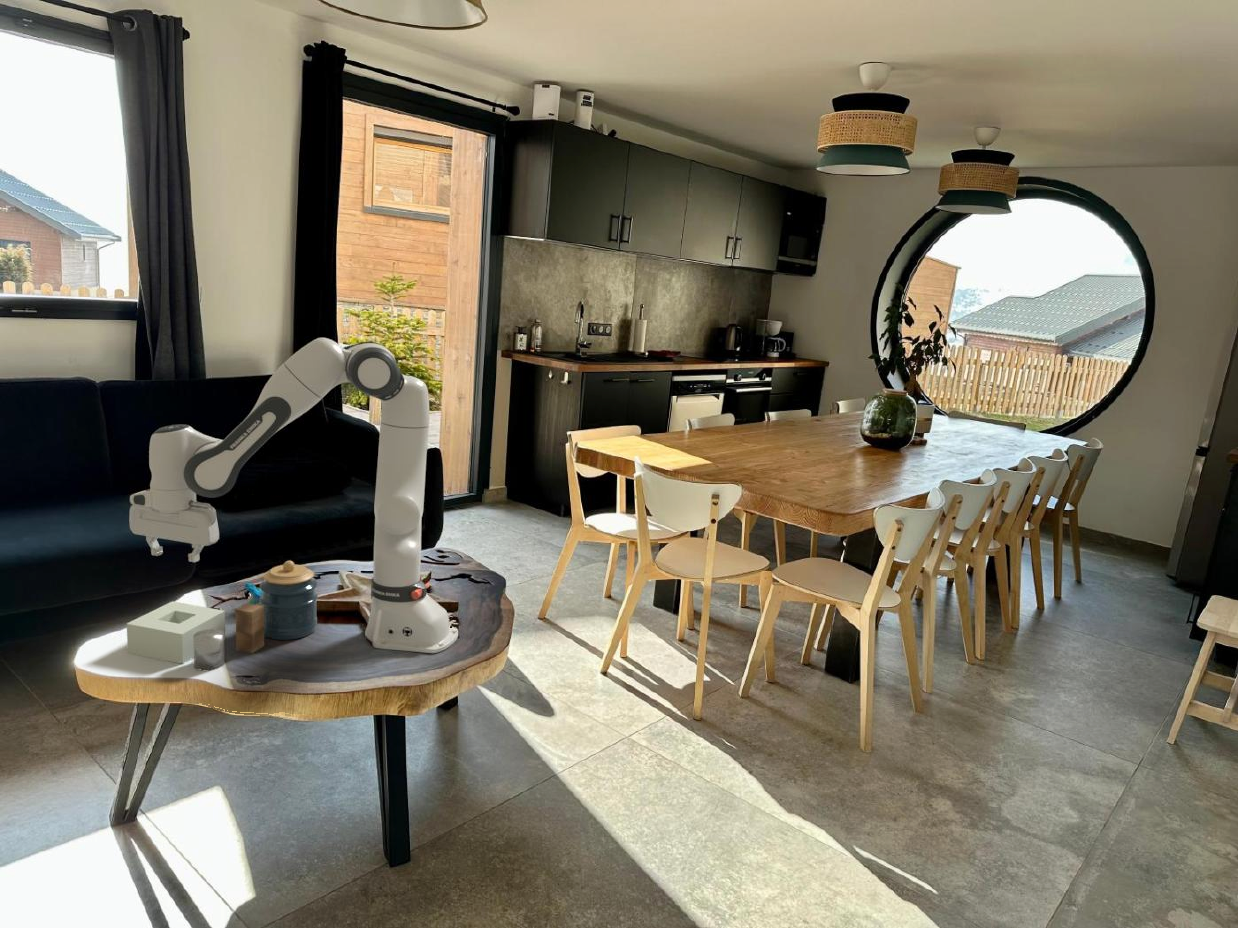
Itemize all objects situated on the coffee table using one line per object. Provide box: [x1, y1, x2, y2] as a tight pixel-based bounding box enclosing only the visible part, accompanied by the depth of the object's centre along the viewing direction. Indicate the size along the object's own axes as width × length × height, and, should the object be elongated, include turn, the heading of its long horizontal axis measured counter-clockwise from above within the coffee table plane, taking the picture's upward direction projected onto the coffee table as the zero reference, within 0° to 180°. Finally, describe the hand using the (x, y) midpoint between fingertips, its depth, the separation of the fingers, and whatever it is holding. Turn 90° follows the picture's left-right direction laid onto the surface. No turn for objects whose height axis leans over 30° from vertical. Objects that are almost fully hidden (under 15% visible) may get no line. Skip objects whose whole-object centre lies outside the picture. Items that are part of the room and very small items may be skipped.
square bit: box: [235, 602, 265, 654], centre depth 193 cm, size 4×4×10 cm
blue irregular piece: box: [243, 581, 262, 605], centre depth 214 cm, size 11×6×10 cm
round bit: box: [193, 629, 225, 671], centre depth 184 cm, size 6×6×7 cm
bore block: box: [126, 600, 226, 665], centre depth 191 cm, size 14×14×7 cm
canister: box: [259, 560, 318, 641], centre depth 203 cm, size 13×13×18 cm
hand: (175, 557), depth 187 cm, fingers open, 8 cm apart
